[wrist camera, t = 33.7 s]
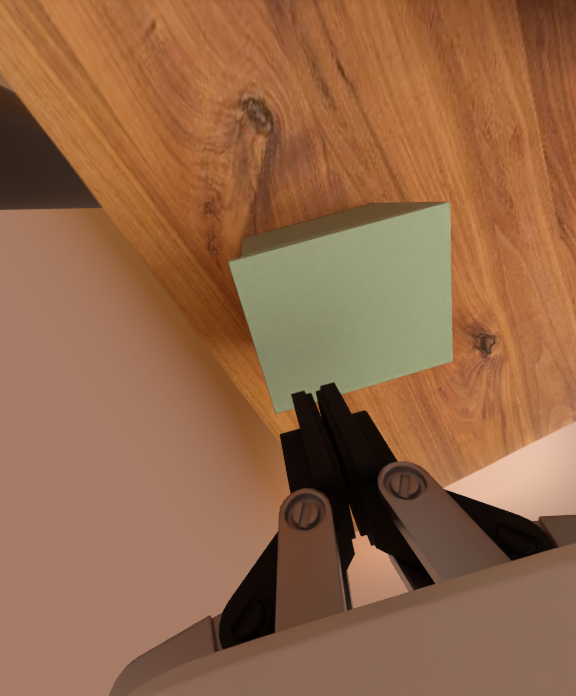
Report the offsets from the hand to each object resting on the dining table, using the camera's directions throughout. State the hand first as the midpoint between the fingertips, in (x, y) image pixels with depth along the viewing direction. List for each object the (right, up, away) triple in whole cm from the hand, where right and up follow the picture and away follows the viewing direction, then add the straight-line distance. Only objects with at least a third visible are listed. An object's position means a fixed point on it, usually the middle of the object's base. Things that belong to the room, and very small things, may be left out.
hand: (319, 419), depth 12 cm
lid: (+4, +5, +13) cm, 14 cm away
